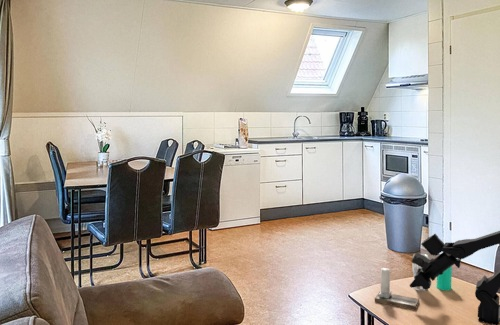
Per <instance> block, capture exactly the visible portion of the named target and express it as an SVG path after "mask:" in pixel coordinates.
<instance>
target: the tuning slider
mask: <svg viewBox="0 0 500 325" xmlns="http://www.w3.org/2000/svg"><path fill="white" fill-rule="evenodd" d="M390 274H391V270H390V268H388V267H381V268H380V291H379V292H380V293H379V292H378V293H379V297H382V299H383V298H388V299H389V297H390V296H391V294H392V291H391V290H390V289H391V288H390V287H391V286H390V285H391V284H390V283H391V280H390V279H391V275H390Z"/></svg>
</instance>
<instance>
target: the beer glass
mask: <svg viewBox="0 0 500 325" xmlns="http://www.w3.org/2000/svg"><path fill="white" fill-rule="evenodd" d="M415 254H416V253H413V255H412V258H413V257H414V255H415ZM420 254H421V255H423V256H425V257H426V258H428V259H429V260H430V256H429V255H428V254H425V253H420ZM411 263H412V262H411ZM411 265H412V266H411V267H412V275H413V280H414V279H415V278H414V277H415V275H416V273H417V271H418V270H419V268H420V269H421V268H423V267H420V266H418V265H417V264H414V263H412V264H411ZM421 270H422V269H421ZM412 288H413V289H412V290H415V291H418V292H427V291H429V290H428V289H427V290H425V289H424V288H423V287H422V286H419V287H412Z"/></svg>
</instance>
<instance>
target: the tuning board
mask: <svg viewBox="0 0 500 325" xmlns="http://www.w3.org/2000/svg"><path fill="white" fill-rule="evenodd" d="M379 293H380V291H378V293H377V295H376V296H375V297H374V302H375V303H379V304H383V305H388V306H389V305H390V306H392V307H393V306H394V307H397V308H398V307H400V308H404V309H409V310H417V307H418V305H419V304H420V298H416V297H412V296H411V297H410V296H406V295H402V294H401V295H400V294H396V293H391V296H390V297H389V299H388V298H383V299H382V297H379Z"/></svg>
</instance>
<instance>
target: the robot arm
mask: <svg viewBox="0 0 500 325" xmlns="http://www.w3.org/2000/svg"><path fill="white" fill-rule="evenodd" d="M420 245H421V246H422V247H423V248H424V249H425V250H426V251H427V252H428V254H430V256H436V257H432V258H429V259H428V258H426V257H425V256H423V255H421V254H422V253H419V252H416V253H414V254H415V255H414V254H413V255H414V257H413V256H412V259H411V263H414V264H417V265H418V266H420V267H423V268H421V269H422V270H421V269H420V268H419V270H418V271H417V273H416V275H415V277H414V276H413V280H412V281H411V283H410V284H409V288H413V287H419V286H422V287H423V288H424V289H425V290H427V289H430V288H431V286H432V282H434V281H435V280H436V279H437V276H439V275H442V274H443V272H444V271H446V270H447V269H448V268H450V267H451V266H452V267H453V266H454V265H455V266H456V267H457V268H458V269H459V268H461V264H462V263H461V261H462V260H465V259H466V258H468V257H470V256H472V255H473V254H475V253H476V252H478V251H480V250H483V249H487V248H490V247H493V246H496V245H500V230H498V231H494V232H492V233H489V234H485V235H483V236H480V237H476V238H465V239H459V240H456V241H455V242H445V243H444V241H442V240H441V239H440V238H439V236H438V235H437V233H433V234H432V235H431V236H428V237H427V238H425V240H423V241H422V242H421V243H420ZM414 278H415V279H414ZM499 290H500V269H499V270H498V271H497V272H496V273H494V274H493V275H492V276H489V277H487V276H486V275H483V277H482V278H481V279H480V280H478V281H477V282H476V287H475V292H474V294H475V297H476V300H478V301H479V305H478V307H477V317H478V319H477V320H478V322H481V323H484V324H489V325H499V324H500V296H499V295H498V292H499ZM427 291H428V290H427Z"/></svg>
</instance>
